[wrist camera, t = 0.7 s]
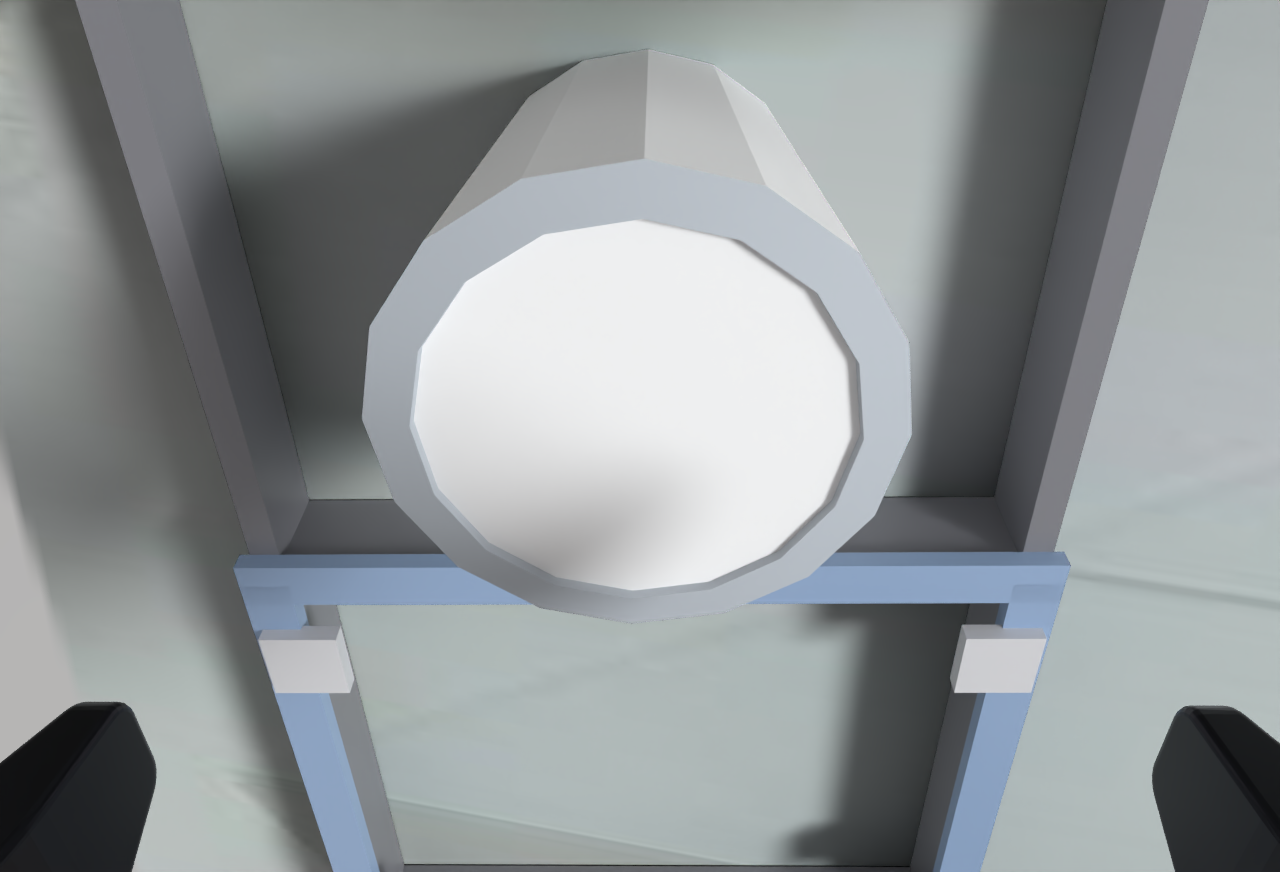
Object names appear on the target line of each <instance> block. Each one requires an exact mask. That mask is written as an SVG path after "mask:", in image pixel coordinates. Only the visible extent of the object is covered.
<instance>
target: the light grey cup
mask: <svg viewBox="0 0 1280 872" xmlns="http://www.w3.org/2000/svg"><path fill="white" fill-rule="evenodd" d="M362 421H363V423H364V426H365V428H366V431H367V433H368V436H369V439H370V441H371V444H372V446H373V449H374V451H375V454H376V456H377V459H378V461H379V464H380V466H381V469H382V471H383V474H384V476H385V479H386V482H387V484H388V487H389V489H390V492H391V494H392V497H393V499H394V502H395V503H396V504H397V505H398V506H399V507H400V508H401V509H402V510H403V511H404V512H405V513H406V514H407V515H408V516H409V517H410V518H411V519H412V520H413V521H414V522H415V523H416V524H417V526H418V527H419V528H420V529H421V530H422V531H423V532H424V533H425V534H426V535H427V536H428V537H429V538H430V539H431V540H432V541H433V542H434V543H435V544H436V545H437V546H438V547H439V548H440V549H441V550H442V551H443V552H444V553H445V554H446V555H447V556H448V557H449V558H450V559H451V560H452V561H453V562H454V564H455V565H456V566H457V567H459V568H461V569H463V570H465V571H467V572H469V573H471V574H473V575H475V576H477V577H479V578H481V579H483V580H485V581H487V582H489V583H491V584H493V585H495V586H497V587H499V588H501V589H503V590H505V591H507V592H509V593H511V594H513V595H515V596H517V597H519V598H521V599H523V600H525V601H527V602H529V603H531V604H533V605H535V606H537V607H539V608H543V609H549V610H555V611H561V612H567V613H573V614H578V615H584V616H590V617H596V618H602V619H607V620H613V621H619V622H625V623H631V624H633V623H642V622H650V621H659V620H668V619H677V618H686V617H695V616H704V615H712V614H721V613H726V612H728V611H730V610H733V609H735V608H737V607H740V606H742V605H744V604H746V603H749V602H751V601H753V600H756V599H758V598H760V597H763V596H765V595H767V594H770V593H772V592H774V591H777V590H779V589H781V588H783V587H786V586H788V585H790V584H793V583H795V582H797V581H800V580H802V579H804V578H807V577H809V576H810V575H811V574H812V573H813V572H814V571H815V570H816V569H817V568H818V567H820V566H821V565H822V564H823V563H824V562H825V561H826V560H827V559H828V558H829V557H830V556H832V555H833V554H834V553H835V552H836V551H837V550H838V549H839V548H840V547H841V546H842V545H843V544H845V543H846V542H847V541H848V540H849V539H850V538H851V537H852V536H853V535H854V534H855V533H857V532H858V531H859V530H860V529H861V528H862V527H863V526H864V525H865V524H866V523H867V522H869V521H870V520H871V519H872V518H873V517H874V516H875V514H876V512H877V510H878V508H879V505H880V503H881V501H882V499H883V497H884V495H885V492H886V490H887V488H888V486H889V484H890V482H891V479H892V477H893V475H894V473H895V471H896V469H897V466H898V464H899V462H900V460H901V458H902V455H903V453H904V451H905V449H906V447H907V445H908V442H909V440H910V438H911V436H912V416H911V379H910V342H909V341H908V339H907V337H906V335H905V333H904V332H903V330H902V328H901V326H900V324H899V323H898V321H897V319H896V317H895V315H894V313H893V312H892V310H891V308H890V306H889V304H888V303H887V301H886V299H885V297H884V295H883V294H882V292H881V290H880V288H879V286H878V285H877V283H876V281H875V279H874V277H873V275H872V274H871V272H870V270H869V268H868V266H867V265H866V263H865V261H864V259H863V257H862V256H861V254H860V252H859V251H858V249H857V247H856V246H855V244H854V243H853V241H852V239H851V238H850V236H849V235H848V233H847V232H846V230H845V228H844V227H843V225H842V224H841V222H840V221H839V219H838V217H837V216H836V214H835V213H834V211H833V210H832V208H831V206H830V205H829V203H828V202H827V200H826V199H825V197H824V195H823V194H822V192H821V191H820V189H819V187H818V186H817V184H816V183H815V181H814V180H813V178H812V176H811V175H810V173H809V172H808V170H807V169H806V167H805V165H804V164H803V162H802V161H801V159H800V158H799V156H798V154H797V153H796V151H795V150H794V148H793V147H792V145H791V143H790V142H789V140H788V139H787V137H786V135H785V134H784V132H783V131H782V129H781V128H780V126H779V124H778V123H777V121H776V120H775V118H774V117H773V115H772V113H771V112H770V110H769V109H768V107H767V106H766V104H765V103H764V102H763V101H761V100H760V99H759V98H757V97H756V96H755V95H753V94H752V93H751V92H749V91H748V90H747V89H745V88H744V87H743V86H741V85H740V84H739V83H737V82H736V81H735V80H733V79H732V78H731V77H729V76H728V75H727V74H725V73H724V72H723V71H721V70H720V69H719V68H717V67H716V66H715V65H713V64H710V63H705V62H701V61H697V60H693V59H689V58H684V57H680V56H676V55H672V54H667V53H663V52H659V51H655V50H651V49H646V50H640V51H634V52H629V53H623V54H617V55H611V56H606V57H600V58H594V59H589V60H583V61H581V62H580V63H578V64H577V65H575V66H574V67H572V68H571V69H569V70H568V71H566V72H565V73H563V74H562V75H560V76H559V77H557V78H556V79H554V80H553V81H551V82H550V83H548V84H547V85H545V86H544V87H542V88H541V89H539V90H538V91H536V92H535V93H533V94H532V95H530V96H529V97H528V98H527V100H526V101H525V102H524V104H523V105H522V106H521V108H520V109H519V111H518V112H517V113H516V115H515V116H514V117H513V119H512V120H511V122H510V123H509V124H508V126H507V127H506V128H505V130H504V131H503V132H502V134H501V135H500V137H499V138H498V139H497V141H496V142H495V143H494V145H493V146H492V147H491V149H490V150H489V152H488V153H487V154H486V156H485V157H484V158H483V160H482V161H481V163H480V164H479V165H478V167H477V168H476V169H475V171H474V172H473V173H472V175H471V176H470V178H469V179H468V180H467V182H466V183H465V184H464V186H463V187H462V189H461V190H460V191H459V193H458V194H457V195H456V197H455V198H454V199H453V201H452V202H451V204H450V205H449V206H448V208H447V209H446V210H445V212H444V213H443V214H442V216H441V217H440V219H439V220H438V221H437V223H436V224H435V225H434V227H433V228H432V230H431V231H430V232H429V234H428V235H427V236H426V238H425V239H424V240H423V242H422V244H421V245H420V247H419V248H418V250H417V252H416V253H415V255H414V256H413V258H412V260H411V261H410V263H409V264H408V266H407V268H406V269H405V271H404V272H403V274H402V276H401V277H400V279H399V280H398V282H397V283H396V285H395V287H394V288H393V290H392V291H391V293H390V295H389V296H388V298H387V299H386V301H385V303H384V304H383V306H382V307H381V309H380V311H379V312H378V314H377V315H376V317H375V318H374V320H373V322H372V323H371V325H370V326H369V337H368V349H367V361H366V373H365V386H364V398H363V410H362Z"/></svg>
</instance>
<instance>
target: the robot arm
mask: <svg viewBox="0 0 1280 872" xmlns="http://www.w3.org/2000/svg"><path fill="white" fill-rule="evenodd" d="M1152 784H1153V792H1154V796H1155V800H1156V804H1157V807H1158V811H1159V814H1160V818H1161V822H1162V825H1163V829H1164V833H1165V836H1166V840H1167V844H1168V847H1169V851H1170V855H1171V858H1172V862H1173V866H1174V869H1175V872H1280V743H1279V742H1278V741H1276V740H1275V739H1274V738H1273V737H1271V736H1270V735H1269V734H1268V733H1266V732H1265V731H1264V730H1263V729H1262V728H1260V727H1259V726H1258V725H1257V724H1255V723H1254V722H1253V721H1252V720H1250V719H1249V718H1248V717H1247V716H1246V715H1244V714H1243V713H1241V712H1240V711H1238V710H1236V709H1234V708H1232V707H1228V706H1185V707H1183V708H1182V709H1180V710H1179V711H1178V712H1177V713H1176V715H1175V717H1174V719H1173V721H1172V723H1171V726H1170V728H1169V730H1168V733H1167V735H1166V737H1165V740H1164V742H1163V744H1162V747H1161V749H1160V751H1159V754H1158V756H1157V758H1156V761H1155V763H1154V767H1153V773H1152ZM155 785H156V764H155V760H154V757H153V755H152V753H151V750H150V748H149V746H148V744H147V741H146V739H145V737H144V735H143V732H142V730H141V728H140V726H139V723H138V721H137V719H136V717H135V714H134V712H133V711H132V709H131V708H130V707H129V706H127V705H126V704H125V703H121V702H82V703H78V704H76V705H74V706H72V707H70V708H69V709H67V710H66V711H64V712H63V713H62V714H61V715H59V716H58V717H57V718H56V719H55V720H53V721H52V722H51V723H49V724H48V725H47V726H46V727H45V728H43V729H42V730H41V731H39V732H38V733H37V734H36V735H35V736H33V737H32V738H31V739H30V740H28V741H27V742H26V743H25V744H23V745H22V746H21V747H20V748H18V749H17V750H16V751H15V752H13V753H12V754H11V755H10V756H8V757H7V758H6V759H5V760H3V761H2V762H1V763H0V872H132V869H133V865H134V861H135V858H136V854H137V851H138V847H139V844H140V840H141V836H142V833H143V829H144V826H145V822H146V818H147V815H148V811H149V808H150V804H151V801H152V797H153V793H154V789H155Z"/></svg>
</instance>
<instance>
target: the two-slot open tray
mask: <svg viewBox="0 0 1280 872" xmlns="http://www.w3.org/2000/svg"><path fill="white" fill-rule="evenodd" d="M1208 1H1209V0H1107V3H1106V8H1105V12H1104V16H1103V21H1102V25H1101V30H1100V34H1099V38H1098V43H1097V47H1096V52H1095V56H1094V60H1093V65H1092V69H1091V74H1090V78H1089V82H1088V87H1087V91H1086V96H1085V100H1084V104H1083V109H1082V113H1081V118H1080V122H1079V126H1078V131H1077V135H1076V139H1075V144H1074V148H1073V153H1072V157H1071V161H1070V166H1069V170H1068V175H1067V179H1066V183H1065V188H1064V192H1063V197H1062V201H1061V205H1060V210H1059V214H1058V219H1057V223H1056V227H1055V232H1054V236H1053V241H1052V245H1051V249H1050V254H1049V258H1048V263H1047V267H1046V271H1045V276H1044V280H1043V284H1042V289H1041V293H1040V298H1039V302H1038V306H1037V311H1036V315H1035V320H1034V324H1033V328H1032V333H1031V337H1030V342H1029V346H1028V350H1027V355H1026V359H1025V364H1024V368H1023V372H1022V377H1021V381H1020V386H1019V390H1018V394H1017V399H1016V403H1015V408H1014V412H1013V416H1012V421H1011V425H1010V429H1009V434H1008V438H1007V443H1006V447H1005V451H1004V456H1003V460H1002V465H1001V469H1000V473H999V478H998V482H997V487H996V491H995V495H994V497H883V499H882V501H881V503H880V505H879V508H878V510H877V512H876V514H875V516H874V517H873V518H872V519H871V520H870V521H869V522H867V523H866V524H865V525H864V526H863V527H862V528H861V529H860V530H859V531H858V532H857V533H855V534H854V535H853V536H852V537H851V538H850V539H849V540H848V541H847V542H846V543H845V544H843V545H842V546H841V547H840V548H839V549H838V550H837V551H836V552H835V553H834V554H833V555H832V556H830V557H829V558H828V559H827V560H826V561H825V562H824V563H823V564H822V565H821V566H820V567H818V568H817V569H816V570H815V571H814V572H813V573H812V574H811V575H810V576H809V577H807V578H804V579H802V580H800V581H797V582H795V583H793V584H790V585H788V586H786V587H783V588H781V589H779V590H777V591H774V592H772V593H770V594H767V595H765V596H763V597H760V598H758V599H756V600H753V601H751V602H749V603H746V604H866V603H970V605H969V610H968V614H967V618H966V623H965V625H962V626H961V631H960V635H959V640H958V644H957V649H956V653H955V657H954V662H953V666H952V671H951V675H950V680H951V689H950V693H949V698H948V702H947V706H946V711H945V715H944V719H943V724H942V728H941V733H940V737H939V741H938V746H937V750H936V755H935V759H934V763H933V768H932V772H931V777H930V781H929V785H928V790H927V794H926V799H925V803H924V807H923V812H922V816H921V821H920V825H919V829H918V834H917V838H916V843H915V847H914V851H913V856H912V860H911V865H910V867H753V866H481V865H404V862H403V859H402V855H401V851H400V847H399V843H398V839H397V835H396V832H395V828H394V824H393V820H392V816H391V812H390V809H389V805H388V801H387V797H386V793H385V789H384V785H383V782H382V778H381V774H380V770H379V766H378V762H377V759H376V755H375V751H374V747H373V743H372V739H371V736H370V732H369V728H368V724H367V720H366V716H365V712H364V709H363V705H362V701H361V697H360V693H359V689H358V686H357V682H356V678H355V674H354V670H353V666H352V662H351V659H350V655H349V651H348V647H347V643H346V639H345V636H344V632H343V628H342V624H341V620H340V616H339V612H338V609H337V605H468V604H531V603H529V602H527V601H525V600H523V599H521V598H519V597H517V596H515V595H513V594H511V593H509V592H507V591H505V590H503V589H501V588H499V587H497V586H495V585H493V584H491V583H489V582H487V581H485V580H483V579H481V578H479V577H477V576H475V575H473V574H471V573H469V572H467V571H465V570H463V569H461V568H459V567H457V566H456V565H455V564H454V562H453V561H452V560H451V559H450V558H449V557H448V556H447V555H446V554H445V553H444V552H443V551H442V550H441V549H440V548H439V547H438V546H437V545H436V544H435V543H434V542H433V541H432V540H431V539H430V538H429V537H428V536H427V535H426V534H425V533H424V532H423V531H422V530H421V529H420V528H419V527H418V526H417V524H416V523H415V522H414V521H413V520H412V519H411V518H410V517H409V516H408V515H407V514H406V513H405V512H404V511H403V510H402V509H401V508H400V507H399V506H398V505H397V504H396V503H395V502H394V500H309V497H308V493H307V489H306V486H305V482H304V478H303V474H302V470H301V466H300V463H299V459H298V455H297V451H296V447H295V443H294V439H293V436H292V432H291V428H290V424H289V420H288V416H287V413H286V409H285V405H284V401H283V397H282V393H281V389H280V386H279V382H278V378H277V374H276V370H275V366H274V363H273V359H272V355H271V351H270V347H269V343H268V340H267V336H266V332H265V328H264V324H263V320H262V316H261V313H260V309H259V305H258V301H257V297H256V293H255V290H254V286H253V282H252V278H251V274H250V270H249V266H248V263H247V259H246V255H245V251H244V247H243V243H242V240H241V236H240V232H239V228H238V224H237V220H236V216H235V213H234V209H233V205H232V201H231V197H230V193H229V190H228V186H227V182H226V178H225V174H224V170H223V166H222V163H221V159H220V155H219V151H218V147H217V143H216V140H215V136H214V132H213V128H212V124H211V120H210V117H209V113H208V109H207V105H206V101H205V97H204V93H203V90H202V86H201V82H200V78H199V74H198V70H197V67H196V63H195V59H194V55H193V51H192V47H191V43H190V40H189V36H188V32H187V28H186V24H185V20H184V17H183V13H182V9H181V5H180V1H179V0H75V2H76V5H77V8H78V11H79V14H80V17H81V21H82V24H83V27H84V30H85V33H86V37H87V40H88V43H89V46H90V49H91V52H92V56H93V59H94V62H95V65H96V68H97V71H98V75H99V78H100V81H101V84H102V87H103V91H104V94H105V97H106V100H107V103H108V106H109V110H110V113H111V116H112V119H113V122H114V125H115V129H116V132H117V135H118V138H119V141H120V145H121V148H122V151H123V154H124V157H125V160H126V164H127V167H128V170H129V173H130V176H131V179H132V183H133V186H134V189H135V192H136V195H137V199H138V202H139V205H140V208H141V211H142V214H143V218H144V221H145V224H146V227H147V230H148V233H149V237H150V240H151V243H152V246H153V249H154V253H155V256H156V259H157V262H158V265H159V268H160V272H161V275H162V278H163V281H164V284H165V287H166V291H167V294H168V297H169V300H170V303H171V307H172V310H173V313H174V316H175V319H176V322H177V326H178V329H179V332H180V335H181V338H182V341H183V345H184V348H185V351H186V354H187V357H188V361H189V364H190V367H191V370H192V373H193V376H194V380H195V383H196V386H197V389H198V392H199V395H200V399H201V402H202V405H203V408H204V411H205V415H206V418H207V421H208V424H209V427H210V430H211V434H212V437H213V440H214V443H215V446H216V449H217V453H218V456H219V459H220V462H221V465H222V468H223V472H224V475H225V478H226V481H227V484H228V488H229V491H230V494H231V497H232V500H233V503H234V507H235V510H236V513H237V516H238V519H239V522H240V526H241V529H242V532H243V535H244V538H245V542H246V545H247V548H248V551H249V554H250V555H239V557H238V559H237V561H236V563H235V565H234V567H233V570H234V573H235V576H236V579H237V582H238V585H239V588H240V591H241V594H242V597H243V600H244V603H245V606H246V609H247V612H248V615H249V618H250V621H251V624H252V627H253V630H254V633H255V636H256V639H257V642H258V646H259V649H260V652H261V655H262V658H263V661H264V664H265V667H266V670H267V673H268V676H269V679H270V682H271V685H272V688H273V691H274V694H275V697H276V700H277V703H278V706H279V709H280V712H281V715H282V718H283V721H284V724H285V727H286V730H287V733H288V736H289V739H290V742H291V745H292V748H293V751H294V754H295V757H296V760H297V763H298V767H299V770H300V773H301V776H302V779H303V782H304V785H305V788H306V791H307V794H308V797H309V800H310V803H311V806H312V809H313V812H314V815H315V818H316V821H317V824H318V827H319V830H320V833H321V836H322V839H323V842H324V845H325V848H326V851H327V854H328V857H329V860H330V863H331V866H332V869H333V872H980V870H981V867H982V863H983V860H984V856H985V853H986V850H987V846H988V843H989V840H990V836H991V833H992V829H993V826H994V823H995V819H996V816H997V813H998V809H999V806H1000V802H1001V799H1002V796H1003V792H1004V789H1005V786H1006V782H1007V779H1008V776H1009V772H1010V769H1011V765H1012V762H1013V759H1014V755H1015V752H1016V749H1017V745H1018V742H1019V738H1020V735H1021V732H1022V728H1023V725H1024V722H1025V718H1026V715H1027V711H1028V708H1029V705H1030V701H1031V698H1032V695H1033V691H1034V688H1035V684H1036V681H1037V678H1038V674H1039V671H1040V668H1041V664H1042V661H1043V657H1044V654H1045V651H1046V647H1047V644H1048V641H1049V637H1050V634H1051V631H1052V627H1053V624H1054V620H1055V617H1056V614H1057V610H1058V607H1059V604H1060V600H1061V597H1062V593H1063V590H1064V587H1065V583H1066V580H1067V577H1068V573H1069V570H1070V566H1071V565H1070V563H1069V561H1068V559H1067V557H1066V555H1065V553H1064V552H1054V549H1055V546H1056V542H1057V539H1058V535H1059V532H1060V528H1061V525H1062V521H1063V517H1064V514H1065V510H1066V507H1067V503H1068V500H1069V496H1070V493H1071V489H1072V485H1073V482H1074V478H1075V475H1076V471H1077V468H1078V464H1079V461H1080V457H1081V453H1082V450H1083V446H1084V443H1085V439H1086V436H1087V432H1088V428H1089V425H1090V421H1091V418H1092V414H1093V411H1094V407H1095V404H1096V400H1097V396H1098V393H1099V389H1100V386H1101V382H1102V379H1103V375H1104V372H1105V368H1106V364H1107V361H1108V357H1109V354H1110V350H1111V347H1112V343H1113V340H1114V336H1115V332H1116V329H1117V325H1118V322H1119V318H1120V315H1121V311H1122V307H1123V304H1124V300H1125V297H1126V293H1127V290H1128V286H1129V283H1130V279H1131V275H1132V272H1133V268H1134V265H1135V261H1136V258H1137V254H1138V251H1139V247H1140V243H1141V240H1142V236H1143V233H1144V229H1145V226H1146V222H1147V219H1148V215H1149V211H1150V208H1151V204H1152V201H1153V197H1154V194H1155V190H1156V186H1157V183H1158V179H1159V176H1160V172H1161V169H1162V165H1163V162H1164V158H1165V154H1166V151H1167V147H1168V144H1169V140H1170V137H1171V133H1172V130H1173V126H1174V122H1175V119H1176V115H1177V112H1178V108H1179V105H1180V101H1181V98H1182V94H1183V90H1184V87H1185V83H1186V80H1187V76H1188V73H1189V69H1190V65H1191V62H1192V58H1193V55H1194V51H1195V48H1196V44H1197V41H1198V37H1199V33H1200V30H1201V26H1202V23H1203V19H1204V16H1205V12H1206V9H1207V5H1208Z"/></svg>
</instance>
